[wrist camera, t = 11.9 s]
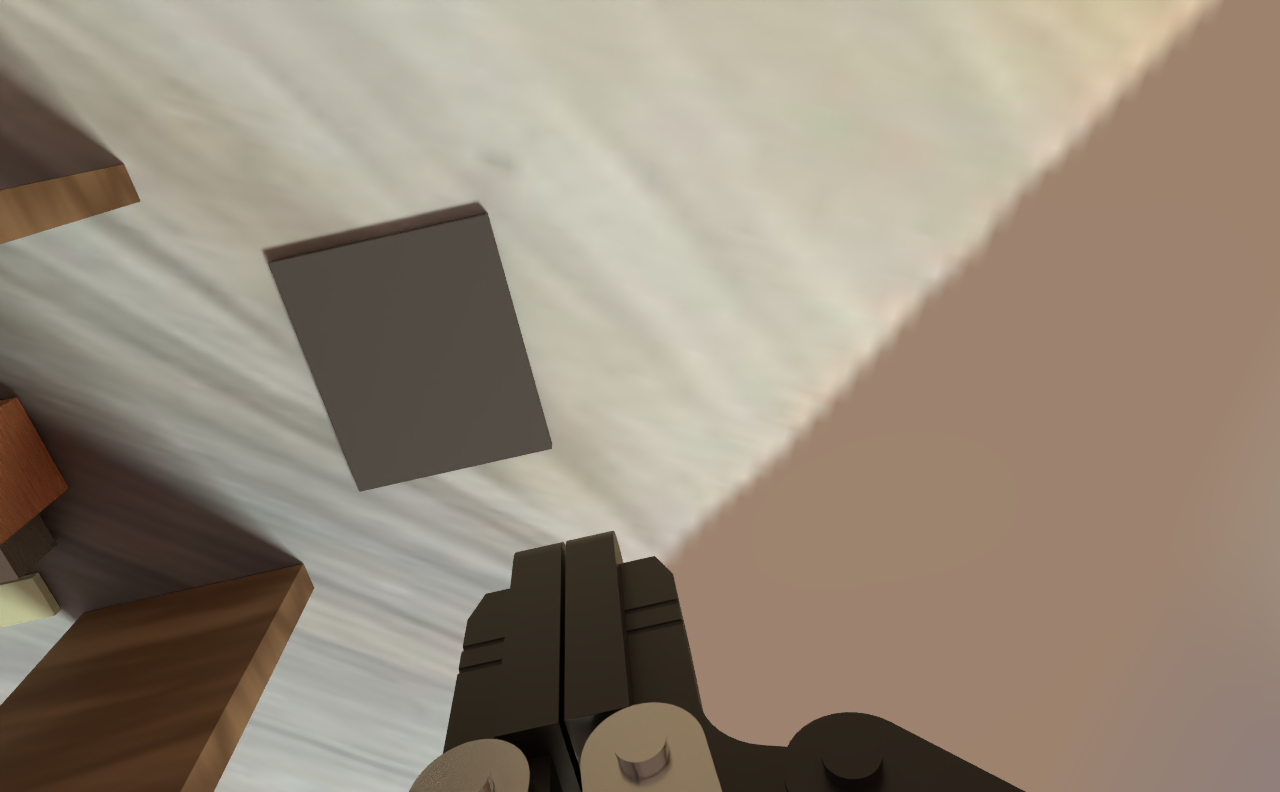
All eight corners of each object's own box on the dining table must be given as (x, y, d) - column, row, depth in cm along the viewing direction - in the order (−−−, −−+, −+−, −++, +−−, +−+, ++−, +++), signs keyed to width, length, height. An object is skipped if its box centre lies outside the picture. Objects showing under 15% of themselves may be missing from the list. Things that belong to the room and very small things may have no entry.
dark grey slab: (273, 260, 36) (268, 263, 35) (487, 212, 36) (485, 214, 35) (362, 486, 41) (359, 491, 40) (552, 443, 41) (551, 448, 40)
